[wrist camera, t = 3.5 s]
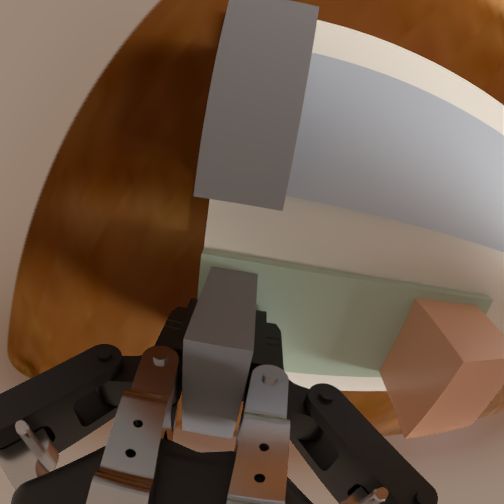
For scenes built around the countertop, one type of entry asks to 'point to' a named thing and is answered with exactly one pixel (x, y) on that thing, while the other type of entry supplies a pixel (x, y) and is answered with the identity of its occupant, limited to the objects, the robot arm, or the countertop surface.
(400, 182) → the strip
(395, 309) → the block strip
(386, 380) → the block
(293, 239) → the lane board
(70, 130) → the countertop surface
